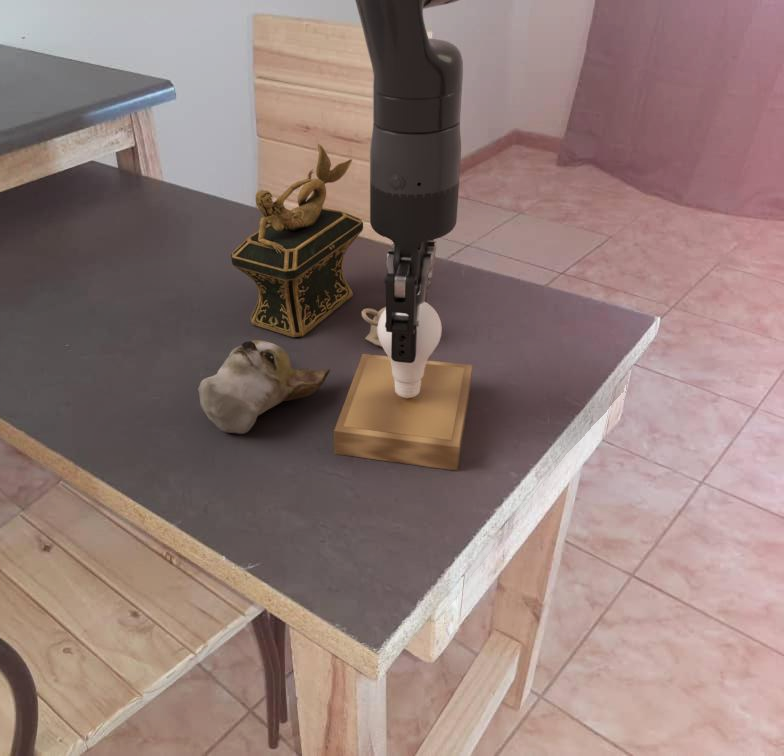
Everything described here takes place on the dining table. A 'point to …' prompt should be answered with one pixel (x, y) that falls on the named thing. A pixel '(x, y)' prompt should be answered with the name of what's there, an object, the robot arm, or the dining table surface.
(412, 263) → the robot arm
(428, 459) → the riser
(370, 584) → the dining table surface
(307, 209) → the decorative box
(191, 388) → the dining table surface
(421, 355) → the lightbulb
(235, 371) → the ceramic sculpture
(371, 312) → the decorative ornament
